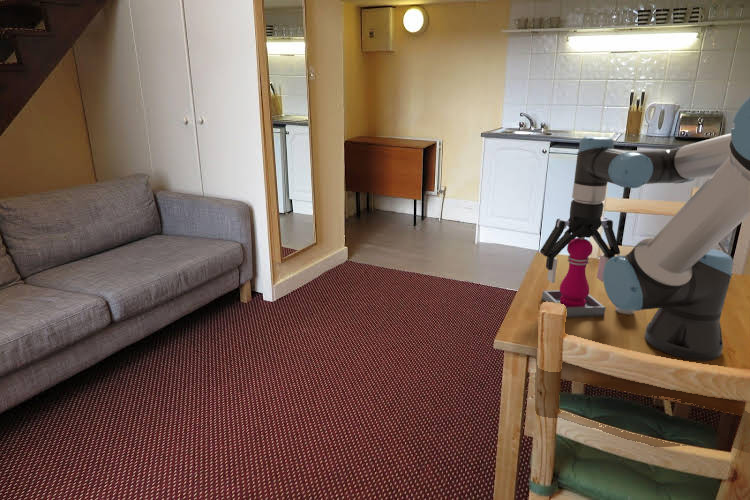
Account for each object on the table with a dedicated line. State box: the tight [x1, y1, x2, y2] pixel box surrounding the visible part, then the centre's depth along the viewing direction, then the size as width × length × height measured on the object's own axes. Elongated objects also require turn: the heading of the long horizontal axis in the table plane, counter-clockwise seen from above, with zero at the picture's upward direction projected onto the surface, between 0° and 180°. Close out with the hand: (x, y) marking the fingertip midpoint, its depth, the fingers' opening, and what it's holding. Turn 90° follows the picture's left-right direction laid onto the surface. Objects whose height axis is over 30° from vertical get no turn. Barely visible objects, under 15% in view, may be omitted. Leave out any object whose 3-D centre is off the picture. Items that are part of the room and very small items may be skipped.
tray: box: [541, 289, 606, 318], centre depth 132 cm, size 12×12×2 cm
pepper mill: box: [559, 237, 593, 307], centre depth 129 cm, size 7×7×20 cm
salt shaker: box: [615, 306, 635, 315], centre depth 129 cm, size 4×4×10 cm
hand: (575, 280), depth 130 cm, fingers open, 13 cm apart
